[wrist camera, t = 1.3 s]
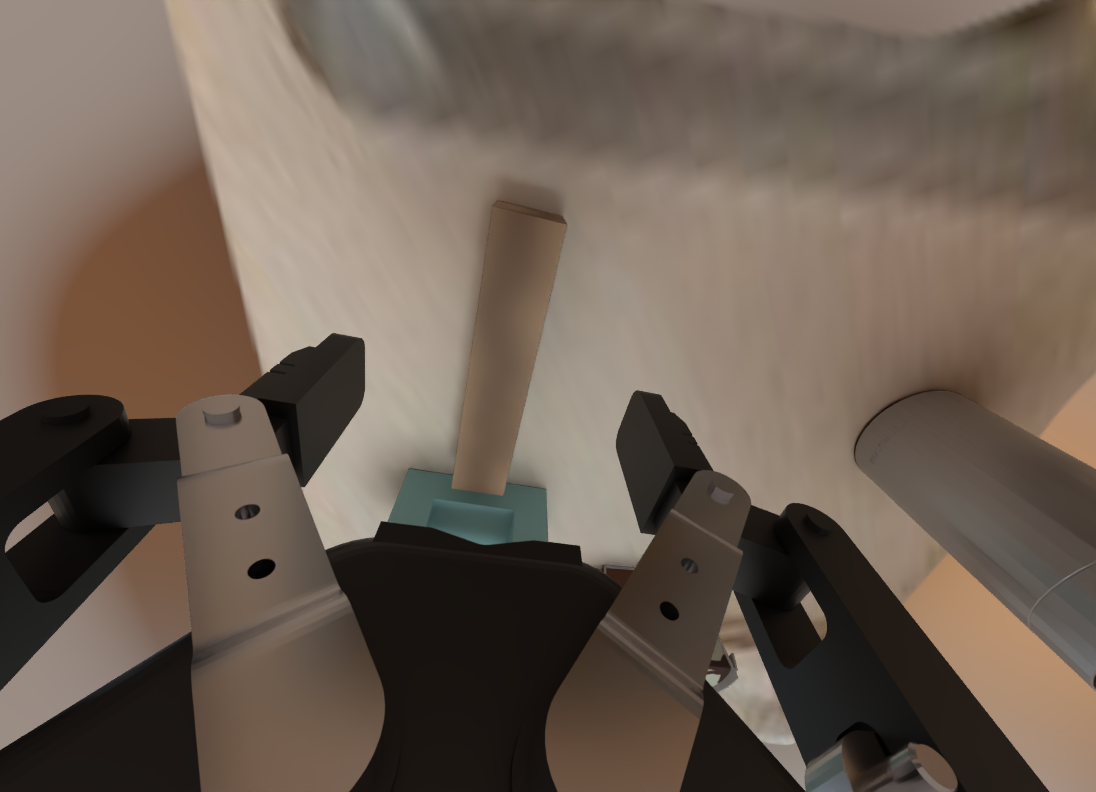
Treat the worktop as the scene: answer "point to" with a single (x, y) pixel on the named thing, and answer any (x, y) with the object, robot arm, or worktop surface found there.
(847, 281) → the worktop surface
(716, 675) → the food container
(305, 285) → the worktop surface
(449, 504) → the light blue hollow block
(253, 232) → the worktop surface
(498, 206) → the brown rectangular block
